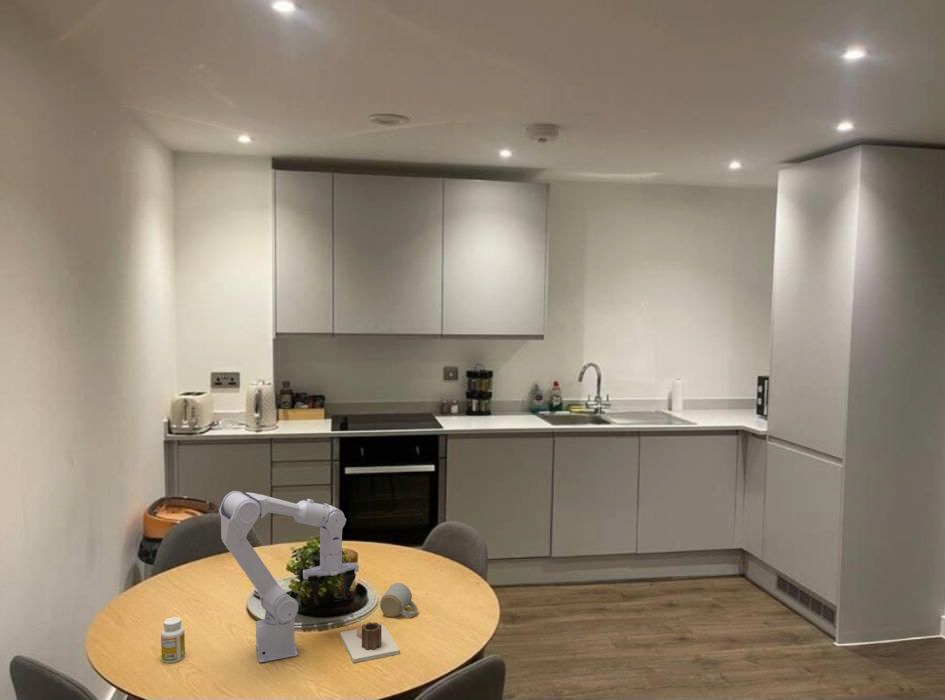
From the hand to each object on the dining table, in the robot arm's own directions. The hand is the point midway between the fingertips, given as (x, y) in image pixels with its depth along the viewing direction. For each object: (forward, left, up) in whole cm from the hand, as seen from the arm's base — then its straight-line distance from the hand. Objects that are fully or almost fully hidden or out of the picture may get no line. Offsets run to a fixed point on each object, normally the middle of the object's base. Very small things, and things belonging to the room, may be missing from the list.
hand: (331, 600), depth 184 cm
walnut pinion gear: (+8, -12, -8) cm, 16 cm away
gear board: (+8, -9, -9) cm, 15 cm away
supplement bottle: (-39, +3, -10) cm, 40 cm away
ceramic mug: (+21, +6, -10) cm, 24 cm away
